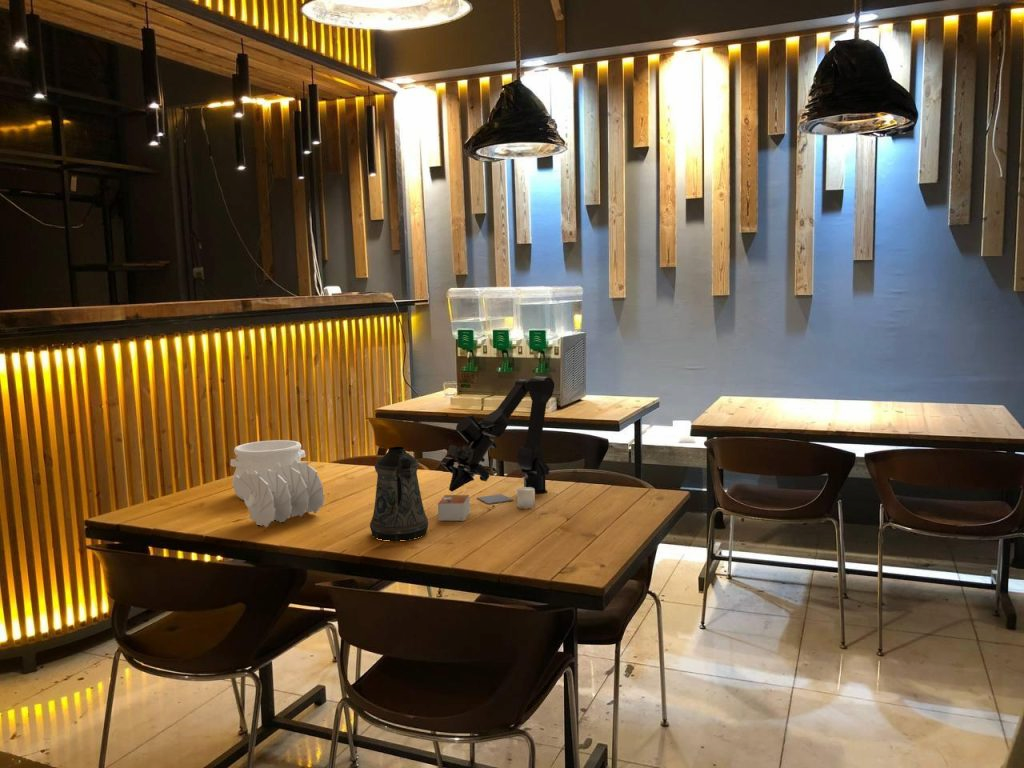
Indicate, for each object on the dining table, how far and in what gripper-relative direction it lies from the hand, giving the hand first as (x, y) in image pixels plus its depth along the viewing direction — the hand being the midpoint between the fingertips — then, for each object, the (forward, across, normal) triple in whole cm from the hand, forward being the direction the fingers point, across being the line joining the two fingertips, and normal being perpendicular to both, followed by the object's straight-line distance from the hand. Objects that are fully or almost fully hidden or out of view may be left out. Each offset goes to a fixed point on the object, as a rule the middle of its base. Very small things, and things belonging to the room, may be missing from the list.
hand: (450, 490), depth 258 cm
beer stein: (+22, +10, -12) cm, 28 cm away
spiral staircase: (+34, -30, -24) cm, 52 cm away
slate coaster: (-9, -1, +18) cm, 20 cm away
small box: (+2, +2, +4) cm, 4 cm away
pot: (+26, -64, -16) cm, 71 cm away
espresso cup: (-10, +12, +19) cm, 25 cm away
